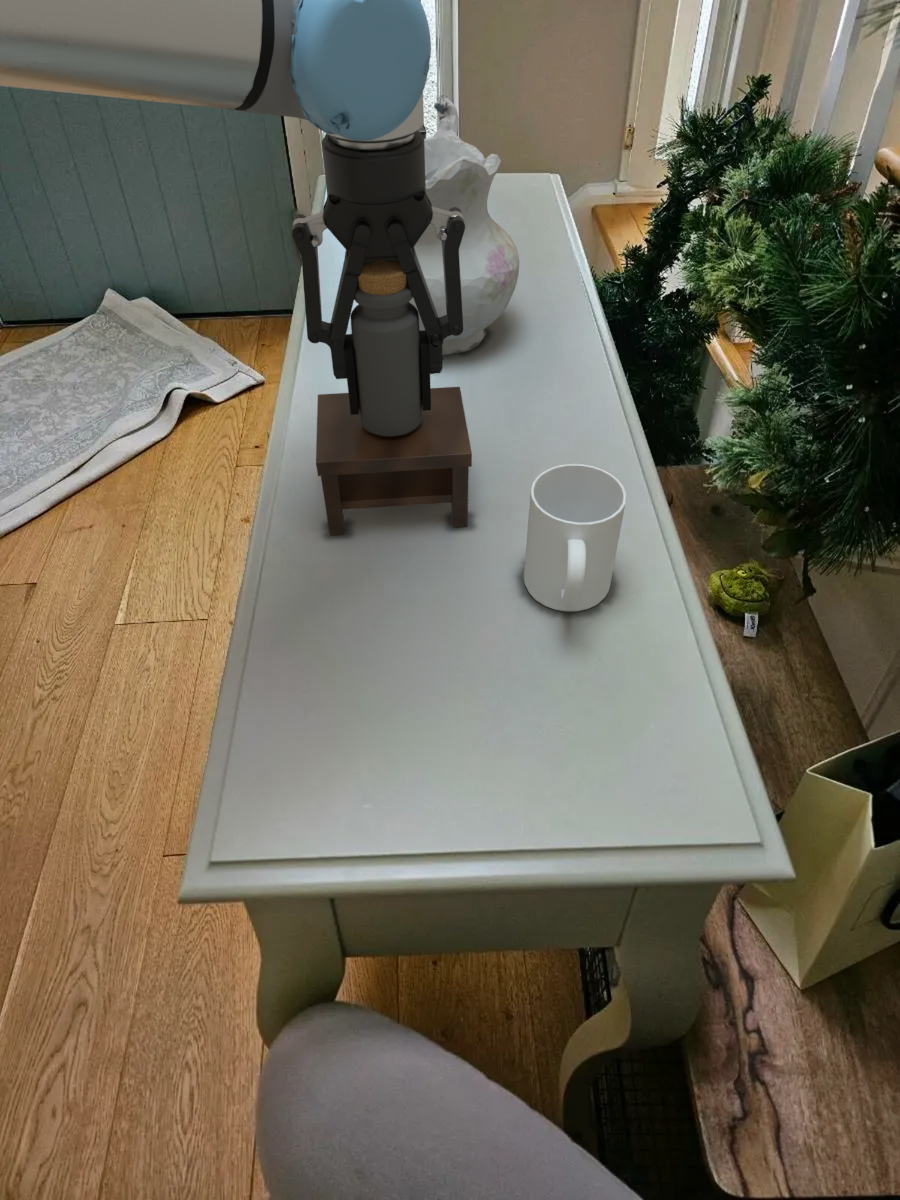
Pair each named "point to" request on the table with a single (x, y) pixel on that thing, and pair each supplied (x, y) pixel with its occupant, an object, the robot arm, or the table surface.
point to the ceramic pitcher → (465, 232)
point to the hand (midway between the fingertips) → (390, 403)
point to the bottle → (386, 351)
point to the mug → (573, 536)
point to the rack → (393, 459)
